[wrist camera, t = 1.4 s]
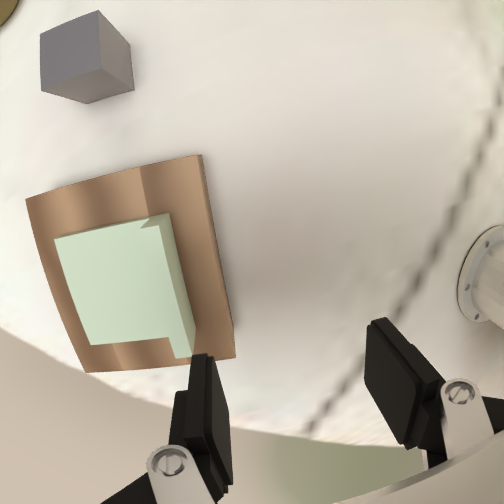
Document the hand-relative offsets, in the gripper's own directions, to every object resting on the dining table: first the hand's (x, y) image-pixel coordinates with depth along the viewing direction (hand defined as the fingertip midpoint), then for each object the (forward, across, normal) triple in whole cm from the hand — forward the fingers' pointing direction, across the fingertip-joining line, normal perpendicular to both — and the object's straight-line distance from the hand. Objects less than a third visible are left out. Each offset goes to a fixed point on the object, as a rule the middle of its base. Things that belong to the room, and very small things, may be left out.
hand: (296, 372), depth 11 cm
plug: (+18, +10, -17) cm, 26 cm away
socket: (+18, +10, 0) cm, 20 cm away
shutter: (+12, +10, 0) cm, 16 cm away
